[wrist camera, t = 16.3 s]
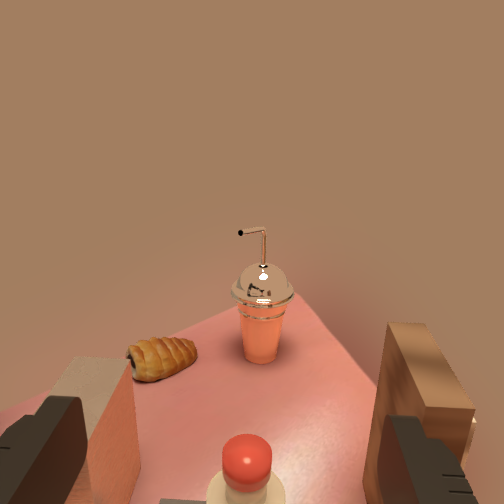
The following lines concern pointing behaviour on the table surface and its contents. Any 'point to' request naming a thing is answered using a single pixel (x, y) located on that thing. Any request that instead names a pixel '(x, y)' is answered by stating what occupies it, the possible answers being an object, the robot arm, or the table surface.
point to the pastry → (160, 357)
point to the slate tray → (180, 501)
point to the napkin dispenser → (104, 429)
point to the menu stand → (418, 397)
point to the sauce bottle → (246, 474)
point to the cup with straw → (261, 304)
